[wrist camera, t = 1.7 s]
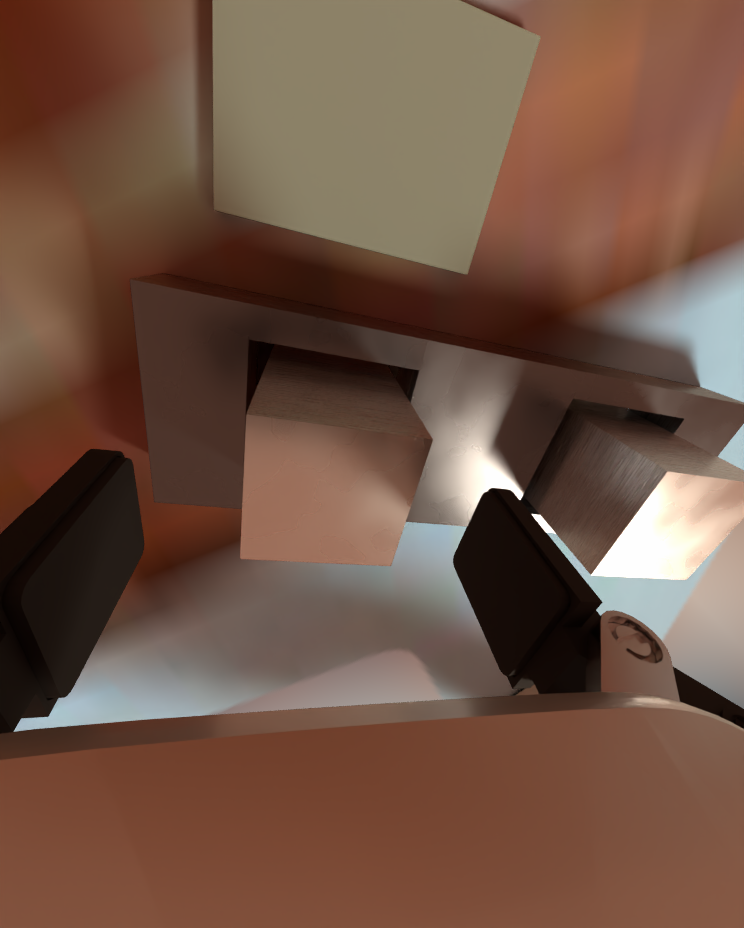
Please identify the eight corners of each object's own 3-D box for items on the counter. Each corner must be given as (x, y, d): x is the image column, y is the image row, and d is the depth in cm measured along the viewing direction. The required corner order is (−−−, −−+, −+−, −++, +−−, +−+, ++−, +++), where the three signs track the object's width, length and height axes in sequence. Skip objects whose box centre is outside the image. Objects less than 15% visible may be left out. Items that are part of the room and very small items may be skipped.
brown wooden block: (575, 481, 23) (685, 579, 16) (504, 472, 22) (591, 575, 15) (620, 406, 20) (773, 485, 14) (542, 392, 19) (667, 471, 12)
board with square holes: (615, 510, 25) (650, 540, 22) (176, 466, 18) (154, 502, 16) (701, 387, 20) (756, 407, 18) (162, 273, 14) (129, 279, 11)
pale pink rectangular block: (364, 456, 20) (390, 565, 13) (267, 444, 18) (239, 559, 12) (385, 363, 17) (433, 439, 10) (274, 343, 16) (246, 413, 9)
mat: (462, 273, 15) (467, 274, 15) (217, 211, 13) (213, 209, 13) (531, 45, 12) (540, 36, 12) (216, -93, 10) (211, -111, 9)
